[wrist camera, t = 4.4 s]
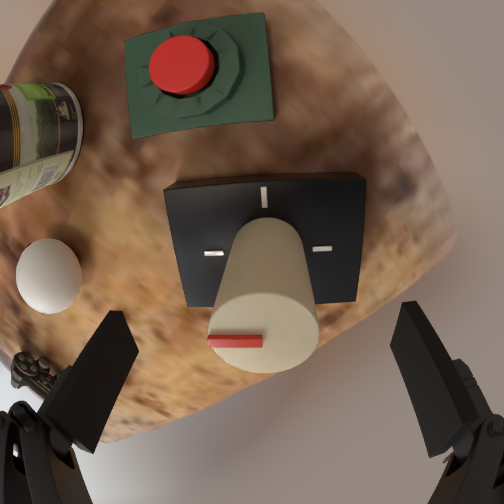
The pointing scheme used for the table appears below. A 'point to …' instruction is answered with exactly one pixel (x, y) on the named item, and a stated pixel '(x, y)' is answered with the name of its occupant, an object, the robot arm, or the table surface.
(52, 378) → the game controller
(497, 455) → the robot arm
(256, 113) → the button box
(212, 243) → the panel
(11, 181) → the coffee can
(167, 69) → the red button
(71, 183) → the table surface
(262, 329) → the dial
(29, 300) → the white sphere
